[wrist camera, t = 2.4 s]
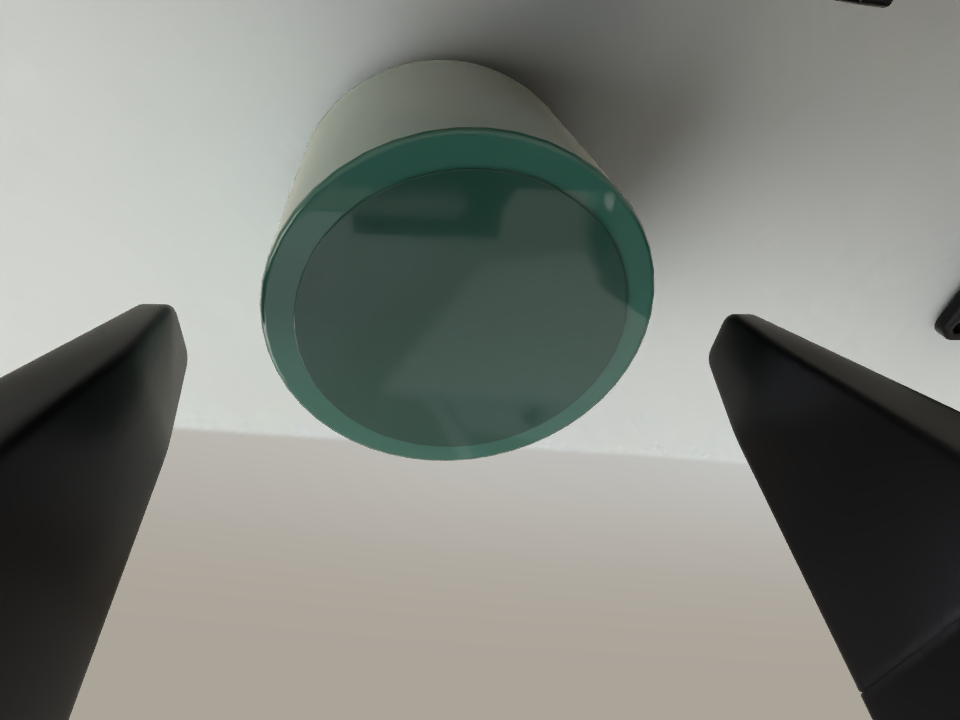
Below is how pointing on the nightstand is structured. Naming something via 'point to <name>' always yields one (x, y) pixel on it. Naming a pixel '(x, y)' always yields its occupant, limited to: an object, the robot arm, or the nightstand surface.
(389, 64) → the nightstand surface
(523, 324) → the green glass jar
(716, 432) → the nightstand surface
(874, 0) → the rack
